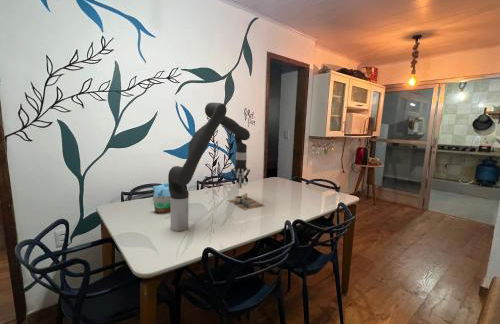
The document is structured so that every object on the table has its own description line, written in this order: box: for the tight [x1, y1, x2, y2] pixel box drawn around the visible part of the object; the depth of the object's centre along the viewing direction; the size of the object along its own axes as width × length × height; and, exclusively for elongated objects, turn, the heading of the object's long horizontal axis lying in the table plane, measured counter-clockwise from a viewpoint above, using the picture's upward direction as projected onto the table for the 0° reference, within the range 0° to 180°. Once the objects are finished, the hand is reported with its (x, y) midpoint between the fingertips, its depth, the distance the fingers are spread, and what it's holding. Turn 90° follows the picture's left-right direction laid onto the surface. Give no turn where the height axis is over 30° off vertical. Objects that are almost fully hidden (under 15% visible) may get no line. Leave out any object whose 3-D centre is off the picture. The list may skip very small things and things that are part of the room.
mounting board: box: [227, 196, 266, 211], centre depth 173 cm, size 22×18×1 cm
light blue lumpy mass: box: [152, 182, 170, 197], centre depth 171 cm, size 18×16×14 cm
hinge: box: [234, 192, 250, 208], centre depth 173 cm, size 18×14×4 cm
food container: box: [152, 195, 170, 215], centre depth 151 cm, size 12×6×10 cm, turn 105°
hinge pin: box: [237, 173, 243, 189], centre depth 171 cm, size 4×4×11 cm
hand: (239, 183), depth 171 cm, fingers closed on hinge pin, 2 cm apart
